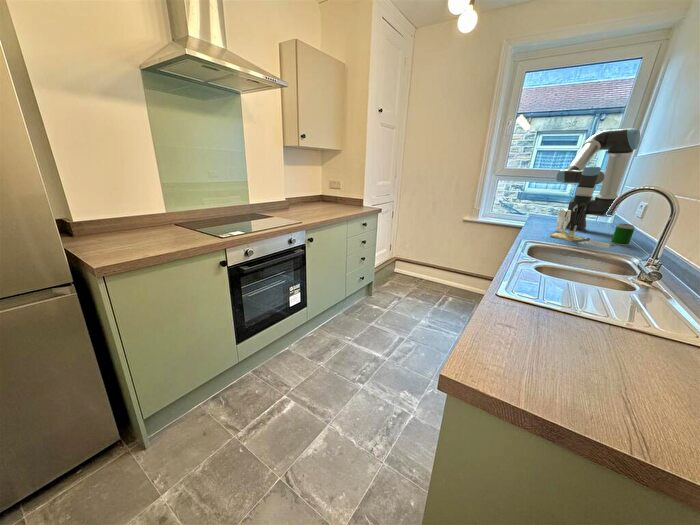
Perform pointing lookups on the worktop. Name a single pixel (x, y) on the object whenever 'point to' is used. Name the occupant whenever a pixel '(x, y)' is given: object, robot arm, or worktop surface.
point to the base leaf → (596, 243)
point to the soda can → (623, 234)
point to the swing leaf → (568, 237)
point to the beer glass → (563, 220)
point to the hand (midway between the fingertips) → (570, 235)
